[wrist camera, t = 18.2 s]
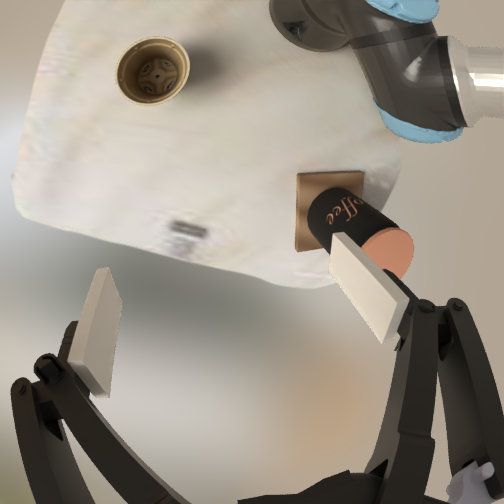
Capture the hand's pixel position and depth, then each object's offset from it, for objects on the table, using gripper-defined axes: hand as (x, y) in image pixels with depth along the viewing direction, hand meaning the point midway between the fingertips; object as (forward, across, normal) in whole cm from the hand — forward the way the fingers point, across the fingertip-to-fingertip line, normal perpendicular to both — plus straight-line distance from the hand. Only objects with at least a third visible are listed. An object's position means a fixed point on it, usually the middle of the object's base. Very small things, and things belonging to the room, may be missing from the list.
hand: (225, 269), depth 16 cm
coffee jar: (+30, +23, -12) cm, 40 cm away
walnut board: (+32, +23, -12) cm, 41 cm away
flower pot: (+32, -5, +14) cm, 35 cm away
